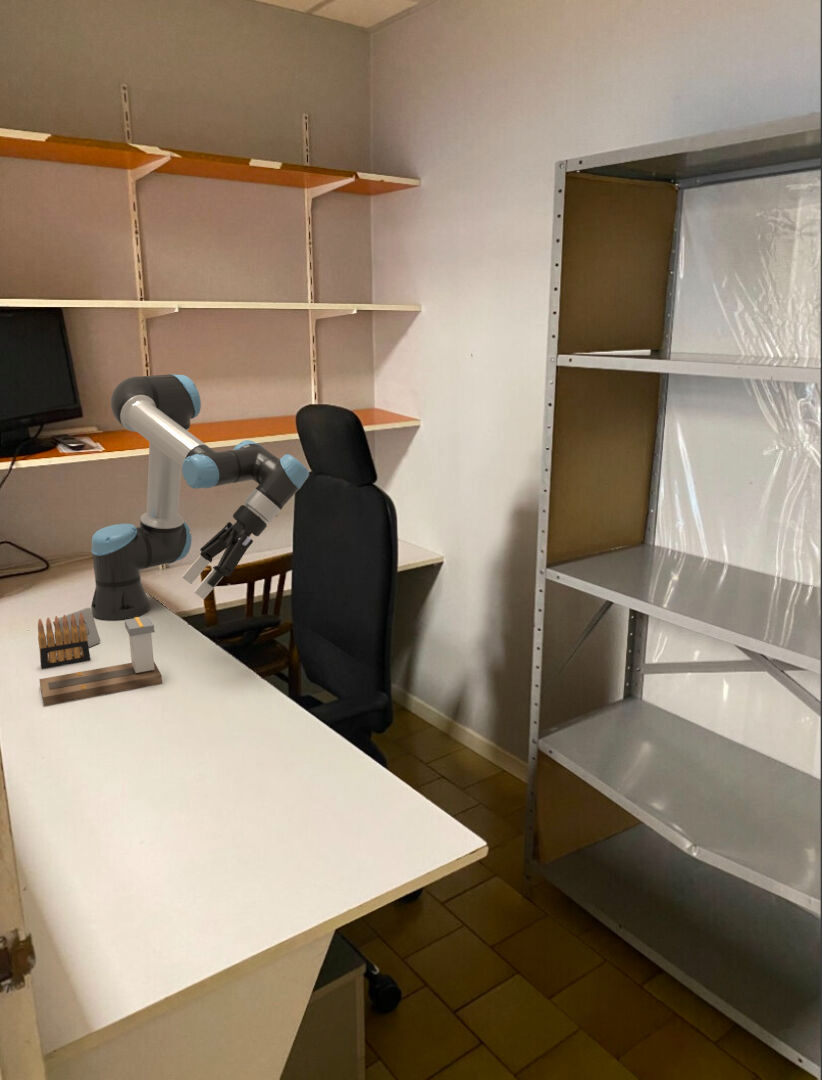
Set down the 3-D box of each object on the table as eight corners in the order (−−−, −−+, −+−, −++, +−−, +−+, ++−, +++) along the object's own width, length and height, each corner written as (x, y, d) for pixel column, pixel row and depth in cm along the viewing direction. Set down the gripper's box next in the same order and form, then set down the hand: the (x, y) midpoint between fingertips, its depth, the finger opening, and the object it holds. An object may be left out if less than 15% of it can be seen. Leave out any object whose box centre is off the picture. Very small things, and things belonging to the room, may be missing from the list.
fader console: (153, 666, 190) (152, 658, 190) (162, 683, 182) (161, 674, 181) (40, 687, 180) (39, 678, 179) (44, 706, 171) (42, 696, 171)
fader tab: (152, 659, 188) (148, 615, 185) (157, 670, 183) (154, 624, 180) (128, 664, 186) (124, 619, 183) (133, 674, 180) (129, 628, 177)
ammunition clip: (41, 669, 189) (35, 620, 186) (40, 666, 191) (34, 618, 188) (90, 660, 194) (85, 612, 191) (89, 658, 196) (84, 610, 193)
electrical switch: (70, 656, 196) (63, 619, 195) (55, 654, 199) (49, 617, 197) (101, 643, 204) (95, 607, 202) (87, 641, 207) (81, 606, 205)
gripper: (284, 535, 180) (218, 613, 177) (252, 513, 200) (192, 582, 197) (259, 514, 176) (191, 593, 173) (229, 494, 196) (168, 564, 193)
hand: (192, 587), depth 185 cm, fingers open, 11 cm apart
